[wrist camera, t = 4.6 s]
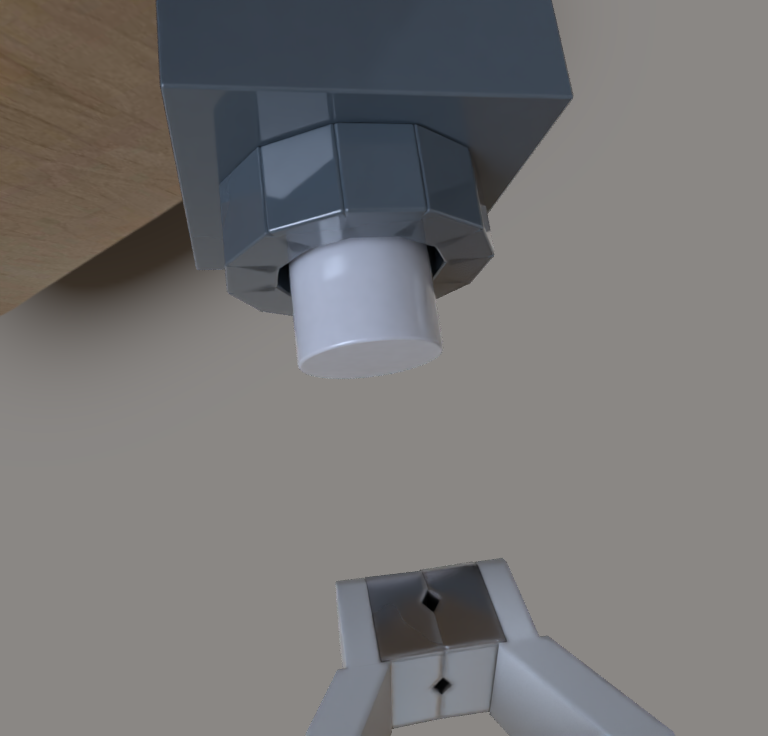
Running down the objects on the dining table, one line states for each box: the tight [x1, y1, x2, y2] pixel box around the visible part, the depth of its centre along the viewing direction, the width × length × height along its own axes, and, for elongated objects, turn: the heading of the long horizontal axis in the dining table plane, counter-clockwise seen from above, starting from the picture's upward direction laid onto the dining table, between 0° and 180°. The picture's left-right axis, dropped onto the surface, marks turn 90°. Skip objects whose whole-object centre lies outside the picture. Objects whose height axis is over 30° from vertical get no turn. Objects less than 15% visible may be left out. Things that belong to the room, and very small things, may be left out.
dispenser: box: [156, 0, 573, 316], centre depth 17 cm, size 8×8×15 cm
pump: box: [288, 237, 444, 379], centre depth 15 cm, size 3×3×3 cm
